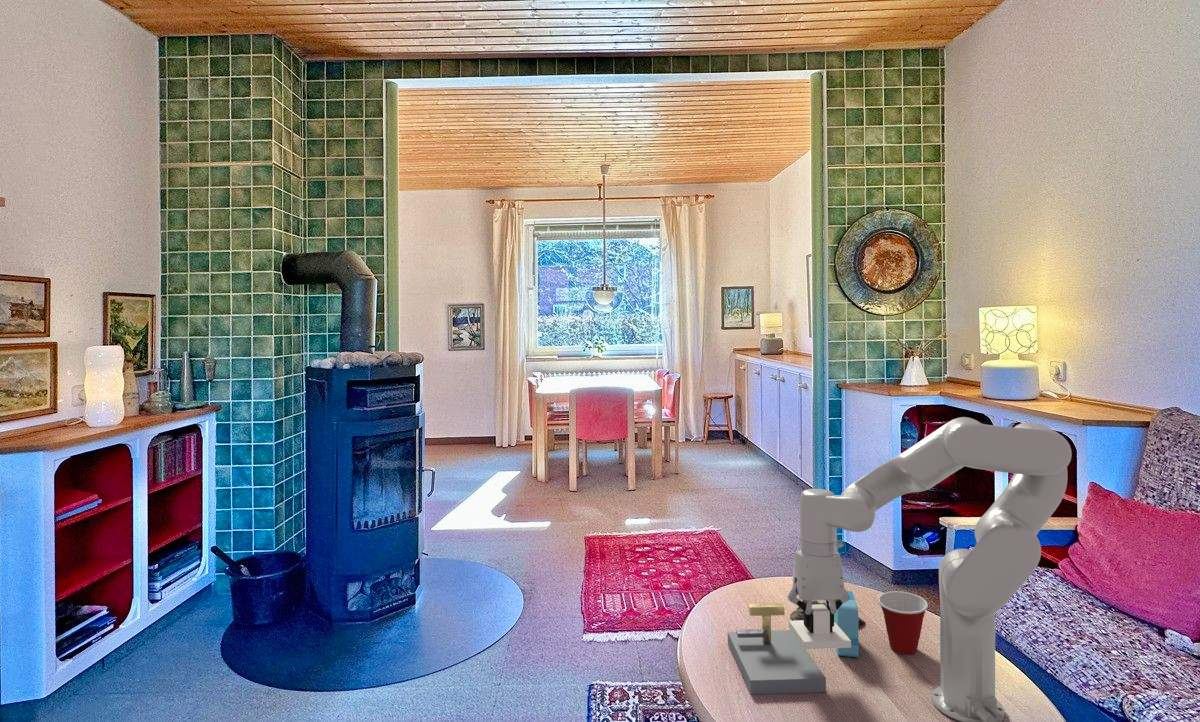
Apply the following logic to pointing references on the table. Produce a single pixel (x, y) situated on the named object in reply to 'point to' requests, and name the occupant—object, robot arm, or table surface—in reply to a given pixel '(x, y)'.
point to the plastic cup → (903, 619)
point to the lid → (819, 631)
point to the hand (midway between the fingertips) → (818, 628)
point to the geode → (799, 614)
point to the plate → (776, 664)
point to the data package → (848, 625)
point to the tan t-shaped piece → (766, 613)
